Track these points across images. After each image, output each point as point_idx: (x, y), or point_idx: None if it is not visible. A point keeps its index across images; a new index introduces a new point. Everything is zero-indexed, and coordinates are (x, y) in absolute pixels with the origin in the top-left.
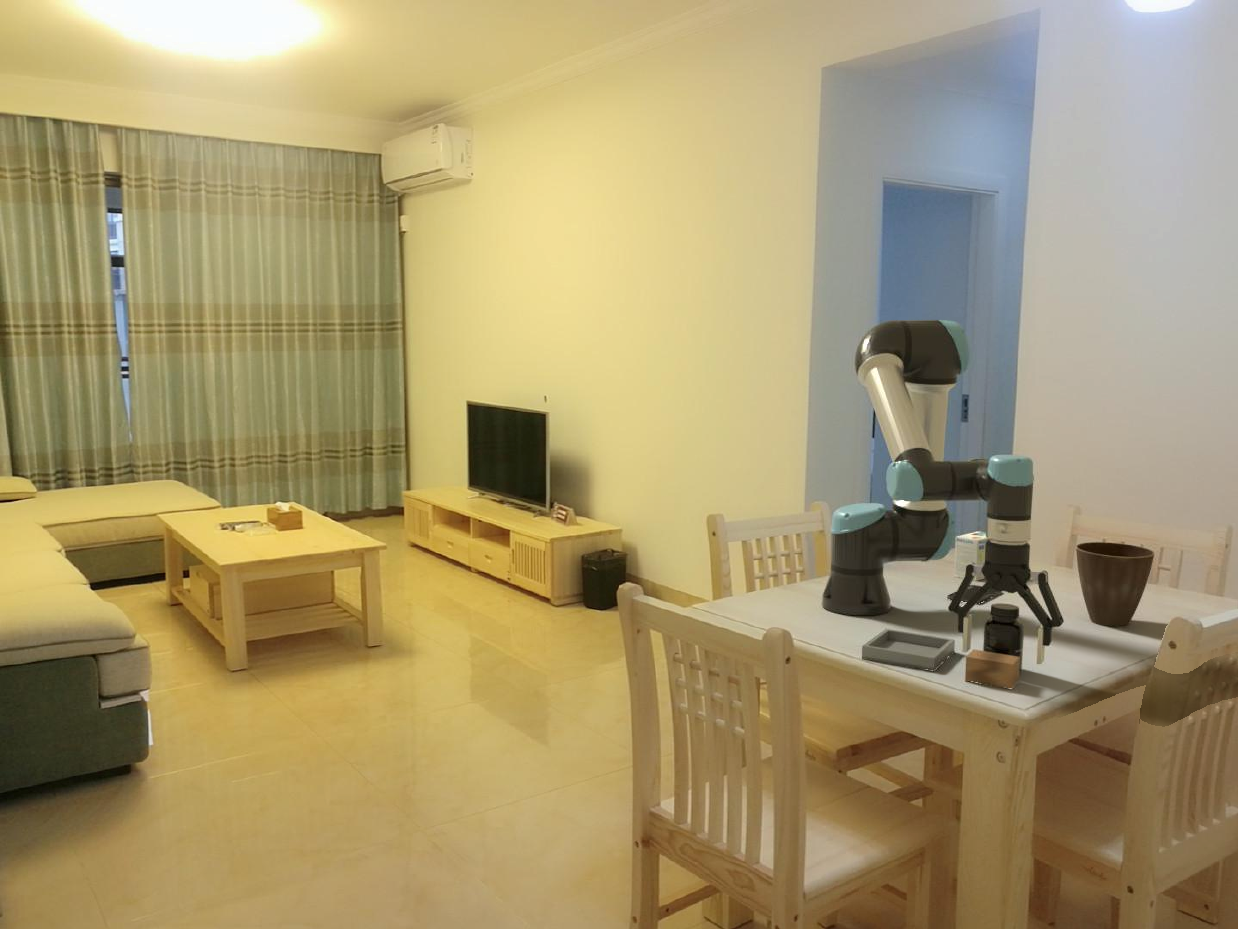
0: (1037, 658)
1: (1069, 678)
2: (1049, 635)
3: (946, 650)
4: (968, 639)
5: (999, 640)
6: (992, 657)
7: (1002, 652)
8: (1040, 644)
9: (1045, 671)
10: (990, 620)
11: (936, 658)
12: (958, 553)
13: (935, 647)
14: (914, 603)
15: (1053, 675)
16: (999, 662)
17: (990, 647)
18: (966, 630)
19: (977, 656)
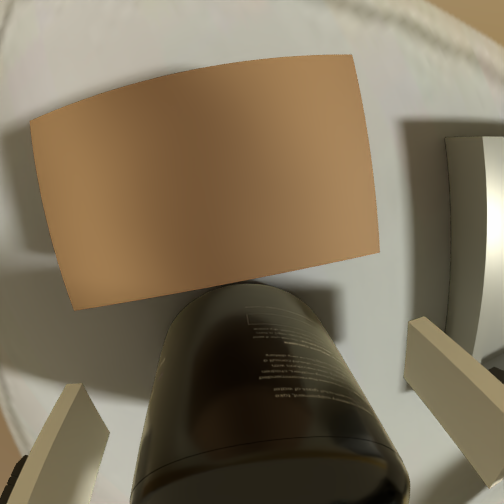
0: (70, 399)
1: (47, 404)
2: (3, 494)
3: (469, 319)
4: (436, 374)
5: (238, 391)
6: (197, 160)
7: (210, 343)
8: (37, 450)
9: (127, 426)
10: None
11: (478, 174)
12: None
13: (485, 360)
14: (488, 497)
15: None
16: (112, 92)
17: (297, 346)
18: (479, 382)
19: (296, 106)
